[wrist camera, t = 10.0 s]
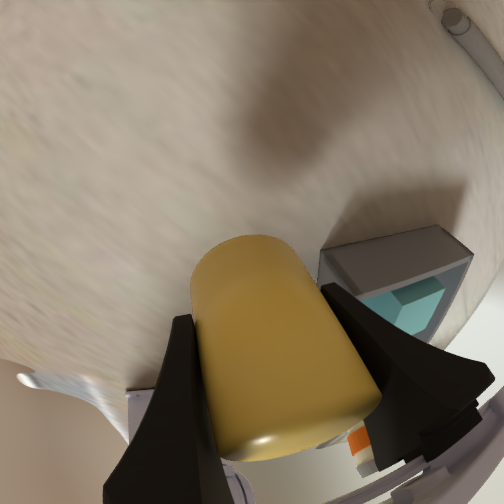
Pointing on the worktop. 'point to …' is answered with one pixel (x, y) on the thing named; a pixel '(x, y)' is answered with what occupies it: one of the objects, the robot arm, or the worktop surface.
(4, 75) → the worktop surface
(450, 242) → the tote
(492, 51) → the kitchen whisk
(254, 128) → the worktop surface
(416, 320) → the cube
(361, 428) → the reusable coffee cup
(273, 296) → the cylinder
